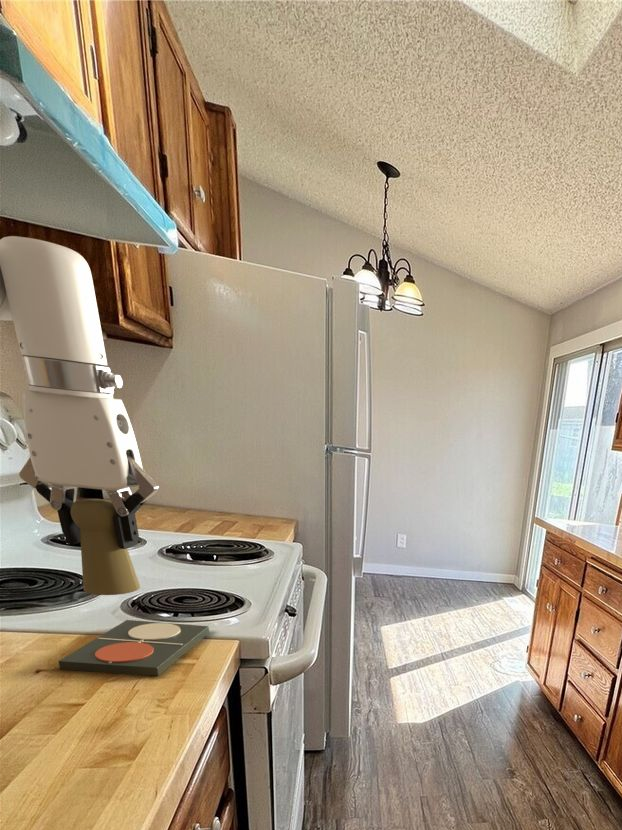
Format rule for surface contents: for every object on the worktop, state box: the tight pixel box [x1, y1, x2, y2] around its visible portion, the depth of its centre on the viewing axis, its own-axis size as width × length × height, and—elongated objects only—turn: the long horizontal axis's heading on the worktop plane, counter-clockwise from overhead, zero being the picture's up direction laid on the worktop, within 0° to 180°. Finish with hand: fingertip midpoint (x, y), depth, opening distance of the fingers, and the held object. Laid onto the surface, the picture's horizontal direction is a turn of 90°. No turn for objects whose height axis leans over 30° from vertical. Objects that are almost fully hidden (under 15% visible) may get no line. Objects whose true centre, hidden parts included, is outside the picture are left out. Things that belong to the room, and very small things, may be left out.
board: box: [57, 619, 210, 677], centre depth 79 cm, size 12×16×1 cm
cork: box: [70, 498, 141, 596], centre depth 69 cm, size 6×6×11 cm
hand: (103, 542), depth 69 cm, fingers closed on cork, 5 cm apart
